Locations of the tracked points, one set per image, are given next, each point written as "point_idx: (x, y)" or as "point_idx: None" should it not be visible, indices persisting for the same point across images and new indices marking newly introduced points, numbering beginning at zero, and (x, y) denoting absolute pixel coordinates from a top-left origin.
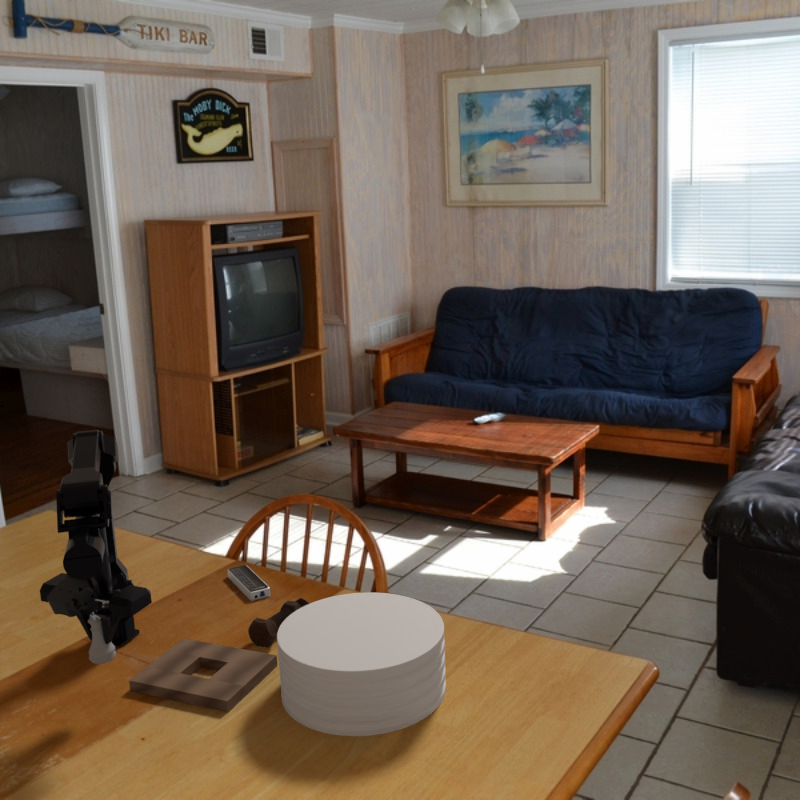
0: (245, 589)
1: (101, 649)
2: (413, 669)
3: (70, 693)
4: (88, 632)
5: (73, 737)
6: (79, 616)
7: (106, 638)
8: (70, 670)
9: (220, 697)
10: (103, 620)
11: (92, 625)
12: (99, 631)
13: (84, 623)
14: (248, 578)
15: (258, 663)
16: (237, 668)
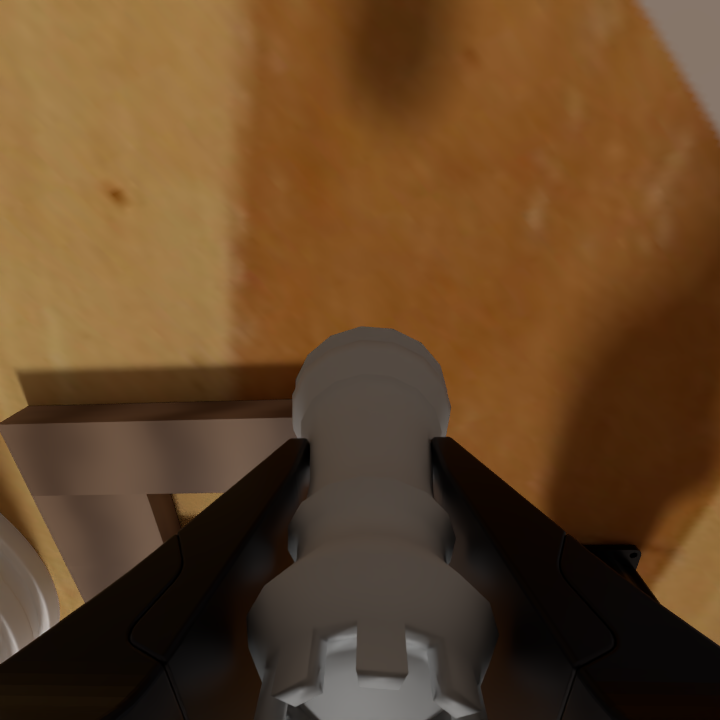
0: None
1: (319, 391)
2: None
3: (541, 322)
4: (461, 475)
5: (343, 93)
6: (639, 642)
7: (267, 463)
8: (620, 423)
9: (31, 432)
10: (109, 653)
11: (373, 538)
12: (311, 498)
13: (517, 546)
14: None
15: (97, 581)
16: (123, 551)
